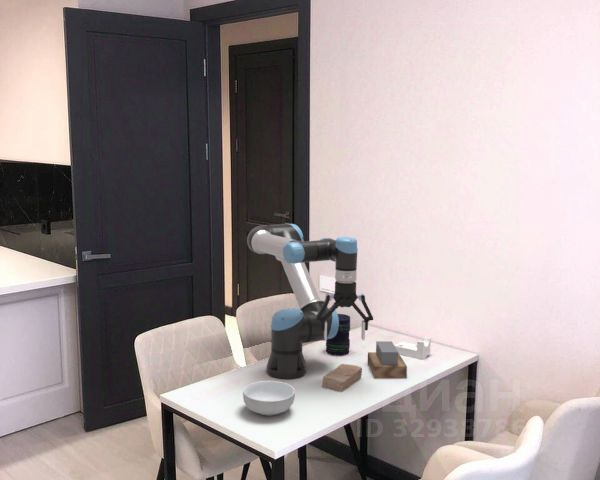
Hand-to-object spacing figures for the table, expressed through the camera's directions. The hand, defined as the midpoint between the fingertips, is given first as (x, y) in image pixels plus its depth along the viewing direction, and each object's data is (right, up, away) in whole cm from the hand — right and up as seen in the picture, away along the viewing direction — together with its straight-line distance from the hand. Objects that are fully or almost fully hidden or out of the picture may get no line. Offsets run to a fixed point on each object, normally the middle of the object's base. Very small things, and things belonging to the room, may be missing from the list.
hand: (344, 339), depth 235 cm
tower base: (+17, -15, +16) cm, 28 cm away
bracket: (+30, -12, +35) cm, 48 cm away
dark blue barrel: (0, -11, +36) cm, 38 cm away
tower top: (+17, -10, +14) cm, 24 cm away
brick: (-1, -17, +3) cm, 17 cm away
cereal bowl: (-26, -20, -23) cm, 40 cm away
